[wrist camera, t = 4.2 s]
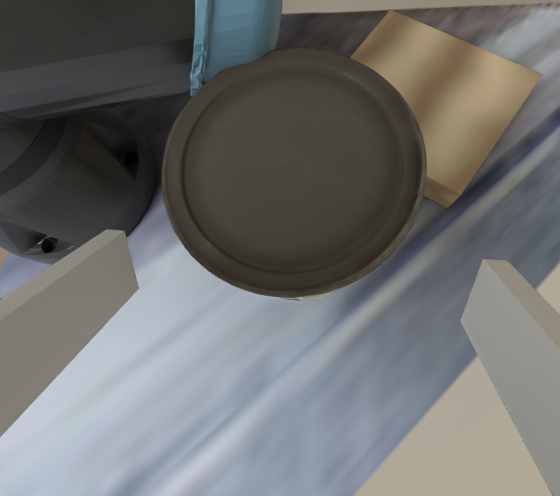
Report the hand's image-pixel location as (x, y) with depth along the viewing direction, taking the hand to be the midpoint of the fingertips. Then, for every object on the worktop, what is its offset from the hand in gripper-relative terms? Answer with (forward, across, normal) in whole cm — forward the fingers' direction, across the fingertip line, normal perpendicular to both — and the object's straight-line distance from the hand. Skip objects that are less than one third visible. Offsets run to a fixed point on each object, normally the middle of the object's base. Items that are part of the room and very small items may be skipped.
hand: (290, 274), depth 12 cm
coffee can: (+13, 0, -5) cm, 14 cm away
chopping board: (+22, +8, +4) cm, 24 cm away
